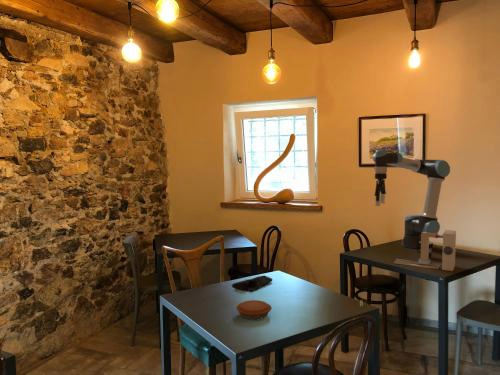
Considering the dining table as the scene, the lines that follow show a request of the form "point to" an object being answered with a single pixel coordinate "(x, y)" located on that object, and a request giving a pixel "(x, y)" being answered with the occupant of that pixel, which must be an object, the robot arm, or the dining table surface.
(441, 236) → the gauge plunger
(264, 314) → the pie
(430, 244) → the coffee mug
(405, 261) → the rail bed
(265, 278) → the dark slate chunk
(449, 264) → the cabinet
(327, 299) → the dining table surface
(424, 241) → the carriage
